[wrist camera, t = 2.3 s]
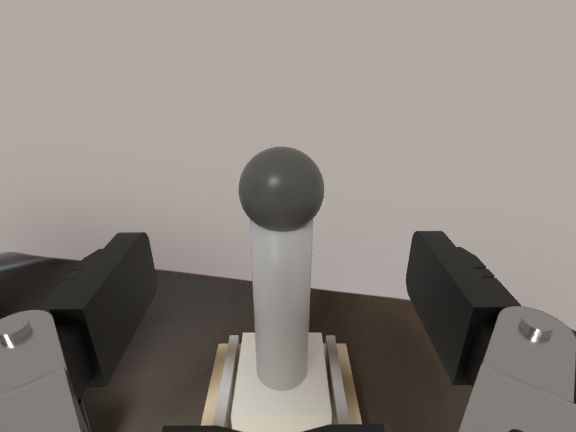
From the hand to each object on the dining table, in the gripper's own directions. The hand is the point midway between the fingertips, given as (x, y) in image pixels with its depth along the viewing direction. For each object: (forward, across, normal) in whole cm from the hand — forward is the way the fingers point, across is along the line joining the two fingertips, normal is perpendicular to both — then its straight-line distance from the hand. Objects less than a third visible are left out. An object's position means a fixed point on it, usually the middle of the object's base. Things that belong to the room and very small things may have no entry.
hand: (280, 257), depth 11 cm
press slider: (+11, 0, +19) cm, 22 cm away
